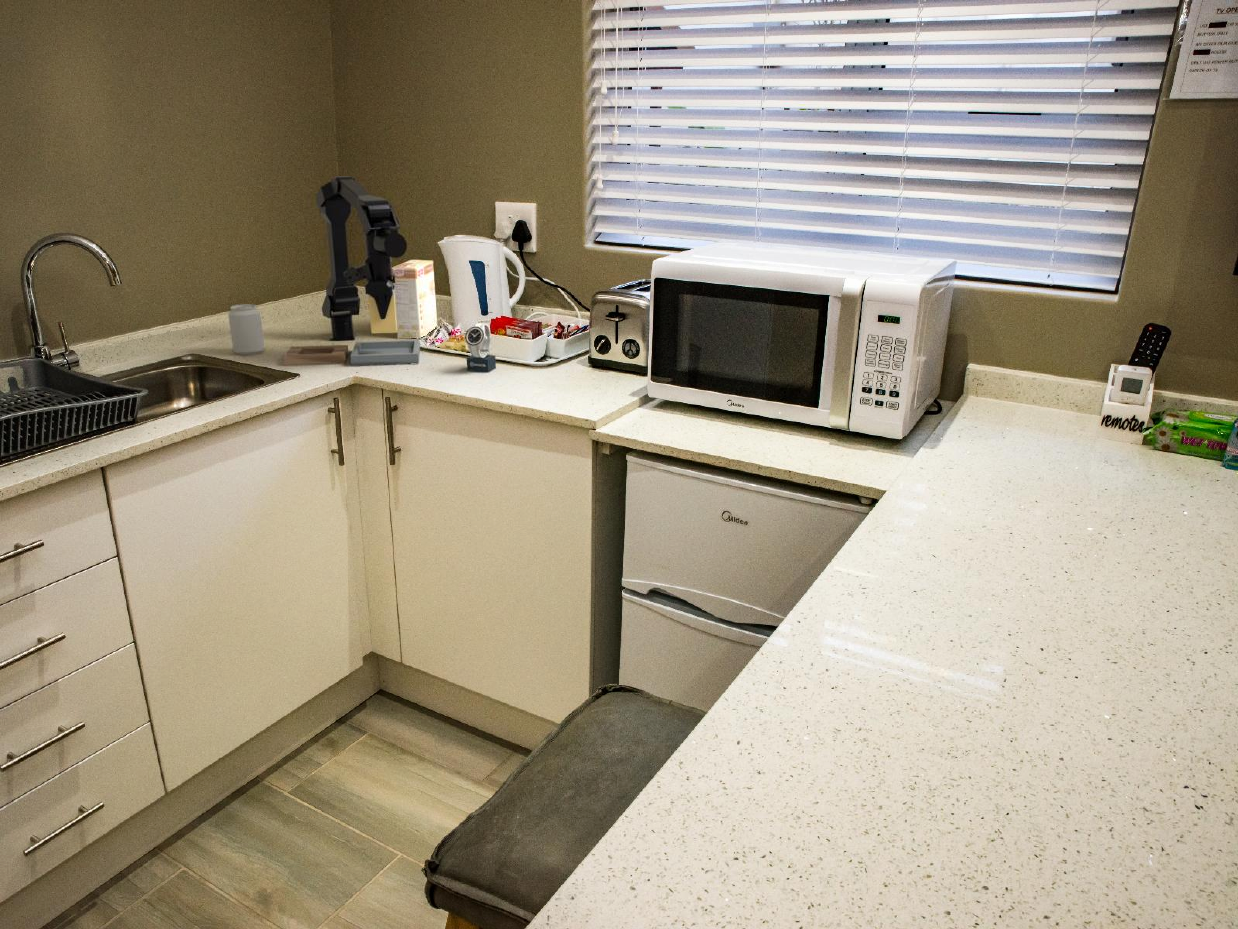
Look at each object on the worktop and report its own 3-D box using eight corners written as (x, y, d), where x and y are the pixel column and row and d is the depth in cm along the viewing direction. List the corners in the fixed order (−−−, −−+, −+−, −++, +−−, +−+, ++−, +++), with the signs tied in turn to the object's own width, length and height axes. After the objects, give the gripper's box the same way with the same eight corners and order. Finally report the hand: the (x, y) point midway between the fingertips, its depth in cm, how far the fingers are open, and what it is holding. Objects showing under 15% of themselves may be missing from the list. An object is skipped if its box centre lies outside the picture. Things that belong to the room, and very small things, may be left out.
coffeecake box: (414, 327, 268) (410, 259, 262) (438, 328, 267) (434, 259, 261) (396, 338, 254) (390, 266, 248) (421, 339, 253) (416, 267, 247)
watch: (463, 372, 220) (461, 326, 216) (478, 364, 227) (476, 320, 223) (485, 374, 218) (483, 328, 215) (499, 366, 226) (497, 321, 222)
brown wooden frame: (291, 354, 236) (290, 346, 235) (348, 352, 238) (347, 344, 238) (284, 365, 225) (283, 357, 224) (344, 363, 227) (343, 355, 227)
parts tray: (356, 351, 240) (356, 341, 239) (420, 349, 242) (419, 339, 242) (351, 366, 225) (350, 356, 224) (418, 363, 228) (417, 353, 227)
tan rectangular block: (372, 329, 233) (369, 289, 229) (397, 329, 234) (394, 289, 230) (371, 333, 229) (368, 292, 226) (396, 332, 230) (393, 292, 227)
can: (232, 350, 240) (226, 304, 236) (263, 348, 243) (257, 302, 239) (234, 356, 233) (228, 309, 229) (266, 354, 236) (260, 307, 232)
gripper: (347, 248, 232) (353, 310, 238) (340, 259, 215) (346, 325, 220) (393, 248, 234) (397, 309, 239) (389, 258, 217) (394, 324, 222)
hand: (383, 317), depth 230 cm, fingers closed on tan rectangular block, 4 cm apart
